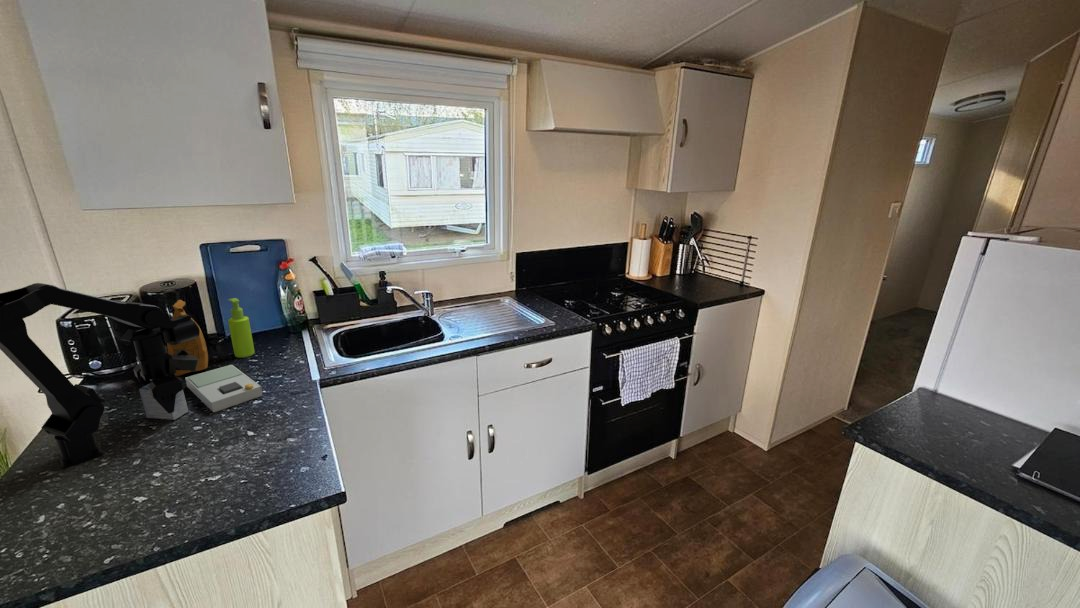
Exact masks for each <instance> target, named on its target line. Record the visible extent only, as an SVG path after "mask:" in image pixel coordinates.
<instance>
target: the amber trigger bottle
mask: <svg viewBox="0 0 1080 608" xmlns="http://www.w3.org/2000/svg"><path fill="white" fill-rule="evenodd" d="M185 305H186V302H185V300H184V301H183V300H182V299H178V300H177V301H176V302H175V303H174V304H173V305H172V308H173V309H174V313H173V316H172V317H171V319H174V318H177V317H179V316H182V315H187V313H186V311H185V310H184V306H185ZM191 320H193V321H194V322H195V323H196V325H197V327H199V330H200V334H199V336H198V337H197V338H195V339H192V340H188V341H185V342H182V343H179V344H176V345H170V344H169V343H166V348H167V352H168V353H169V354H171V355H173V354H175V353H176V352H177V351H178V350H186V351H187V353H188V355H190V354H191V355H193V356H195V357H197V358H198V359H199V360H198V364H197V369H196V371H190V370H176V373H175V374H173V375H175V376H177V377H180V376H182V375H186V374H188V373H189V374H190V373H192V372H193V373H194V372H199V371H203V370H206V369H208V365H209V354H208V353H209V352H208V348H207V341H206V340H205V337H204V334H203V332H202V329H201V328H200V325H199V324H198V323H197V322H196V321H195V320H194V318H192V317H191Z"/></svg>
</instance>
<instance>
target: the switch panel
mask: <svg viewBox="0 0 1080 608" xmlns="http://www.w3.org/2000/svg"><path fill="white" fill-rule="evenodd" d="M233 382H236V383H237V384H239V385H240V386H241V389H239V390H236V391H233V392H230V393H227V394H224V395H223V394H222V393H221V392H220V389H219V387H220V386H224V385H227V384H230V383H233ZM185 383H186V387H187V388H188V389H189V390H190V391H191V392H192V393H193V394H194V395H195V396H196V397H197V398H198V399H200V401H201V402H202V403H203V404H204V405H205V406H206V407H207V408H208V409H209V410H210V411H212V412H213V413H216V412H220V411H222V410H224V409H228V408H231V407H233V406H237V405H239V404H243V403H245V402H249V401H252V400H253V399H257V398H259V397H262V396H263V392H262V386H261V385H260V384H258V383H257V382H256V381H254V380H253V379H252V378H251V377H249V376H248V375H246V374H245V373H244V372H243V371H241V370H240V369H238V368H237V367H236V366H235V365H233V364H228V365H225V366H221V367H219V368H214V369H211V370H207V371H205V372H201V373H197V374H193V375H190V376H187V377H185Z"/></svg>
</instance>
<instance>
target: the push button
mask: <svg viewBox="0 0 1080 608" xmlns="http://www.w3.org/2000/svg"><path fill="white" fill-rule="evenodd" d="M219 389H220V392H221V393H222V394H223V395H224V394H227V393H230V392H233V391H236V390H239V389H241V386H240V385H239V384H237V383H236V382H233V383H230V384H227V385H224V386H220V387H219Z"/></svg>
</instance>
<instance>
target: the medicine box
mask: <svg viewBox="0 0 1080 608" xmlns="http://www.w3.org/2000/svg"><path fill="white" fill-rule="evenodd" d="M148 385H149V384H148ZM148 385H146V386H142V387H141V388H139V389H138V391H139V393H140V395H139V396H140V397H141V401H142V405H143V408H144V413H145V415H146V418H147V419H160V420H171V421H175V420H177V419H178V418H180V417H183V415H185V414H187V413H188V412H189V408H188V404H187V401H186V397H185V393H184V389H183V390H182V391H180V392H178V393H177V395H176V399H175V407H174V412H173V413H170V414H169V413H168V412H167V411H166V410H165V409H164V408H163V407H162V406H161V405H160V404H159V403H158V402H157V401H156V400H155V399H154V398H153V397H152V395H151V393H150V391H149V388H148Z"/></svg>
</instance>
